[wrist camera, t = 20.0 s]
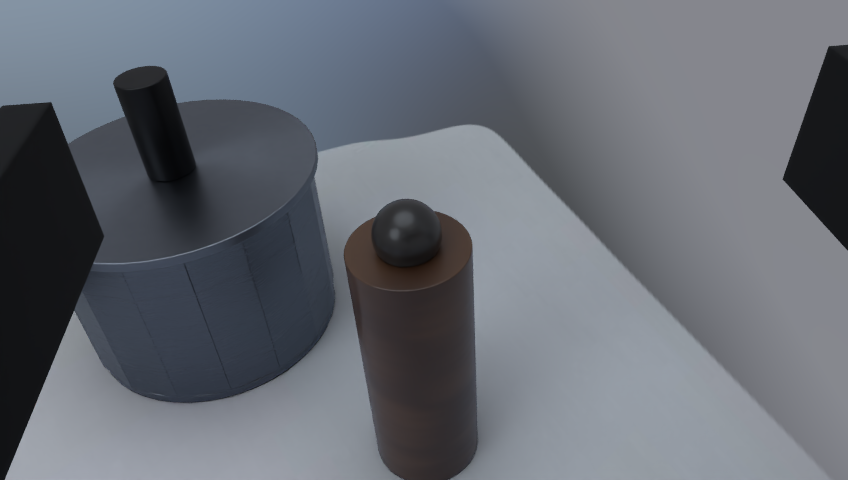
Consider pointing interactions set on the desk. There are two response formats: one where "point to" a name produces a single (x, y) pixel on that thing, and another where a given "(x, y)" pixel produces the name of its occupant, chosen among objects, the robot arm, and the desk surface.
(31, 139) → the robot arm
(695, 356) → the desk surface
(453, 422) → the pepper mill
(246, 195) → the pot lid
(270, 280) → the pot
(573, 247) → the desk surface
